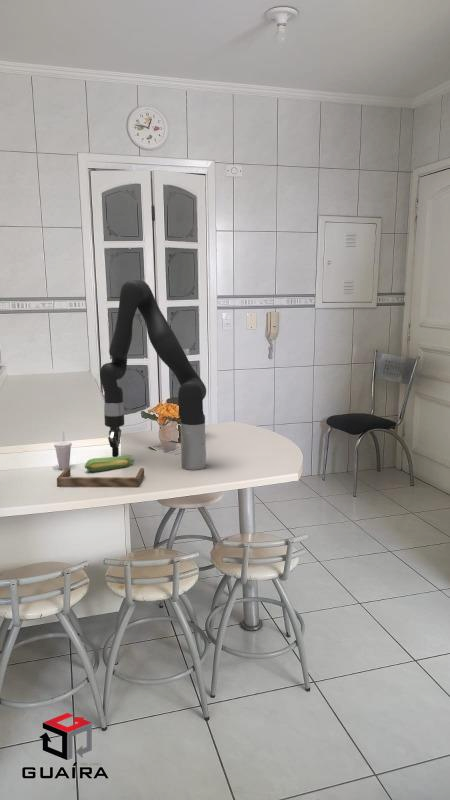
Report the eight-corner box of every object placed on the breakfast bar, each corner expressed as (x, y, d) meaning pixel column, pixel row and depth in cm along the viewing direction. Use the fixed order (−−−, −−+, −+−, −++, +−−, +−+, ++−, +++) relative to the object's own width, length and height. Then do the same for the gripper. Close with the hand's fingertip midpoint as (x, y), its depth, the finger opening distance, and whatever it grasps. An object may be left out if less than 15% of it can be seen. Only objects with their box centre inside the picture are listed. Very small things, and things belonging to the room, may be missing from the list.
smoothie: (76, 466, 213) (74, 431, 211) (65, 471, 208) (63, 434, 205) (63, 464, 216) (61, 429, 213) (51, 469, 210) (49, 433, 208)
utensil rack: (144, 476, 202) (143, 468, 201) (138, 486, 191) (138, 478, 190) (67, 475, 202) (66, 467, 202) (57, 486, 191) (56, 478, 191)
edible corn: (82, 459, 208) (85, 459, 204) (133, 453, 218) (137, 453, 214) (84, 473, 208) (87, 473, 204) (135, 467, 217) (139, 466, 213)
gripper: (120, 417, 210) (121, 461, 213) (127, 410, 223) (128, 451, 226) (100, 417, 210) (102, 461, 214) (108, 409, 223) (109, 451, 227)
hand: (115, 456), depth 220 cm, fingers closed
